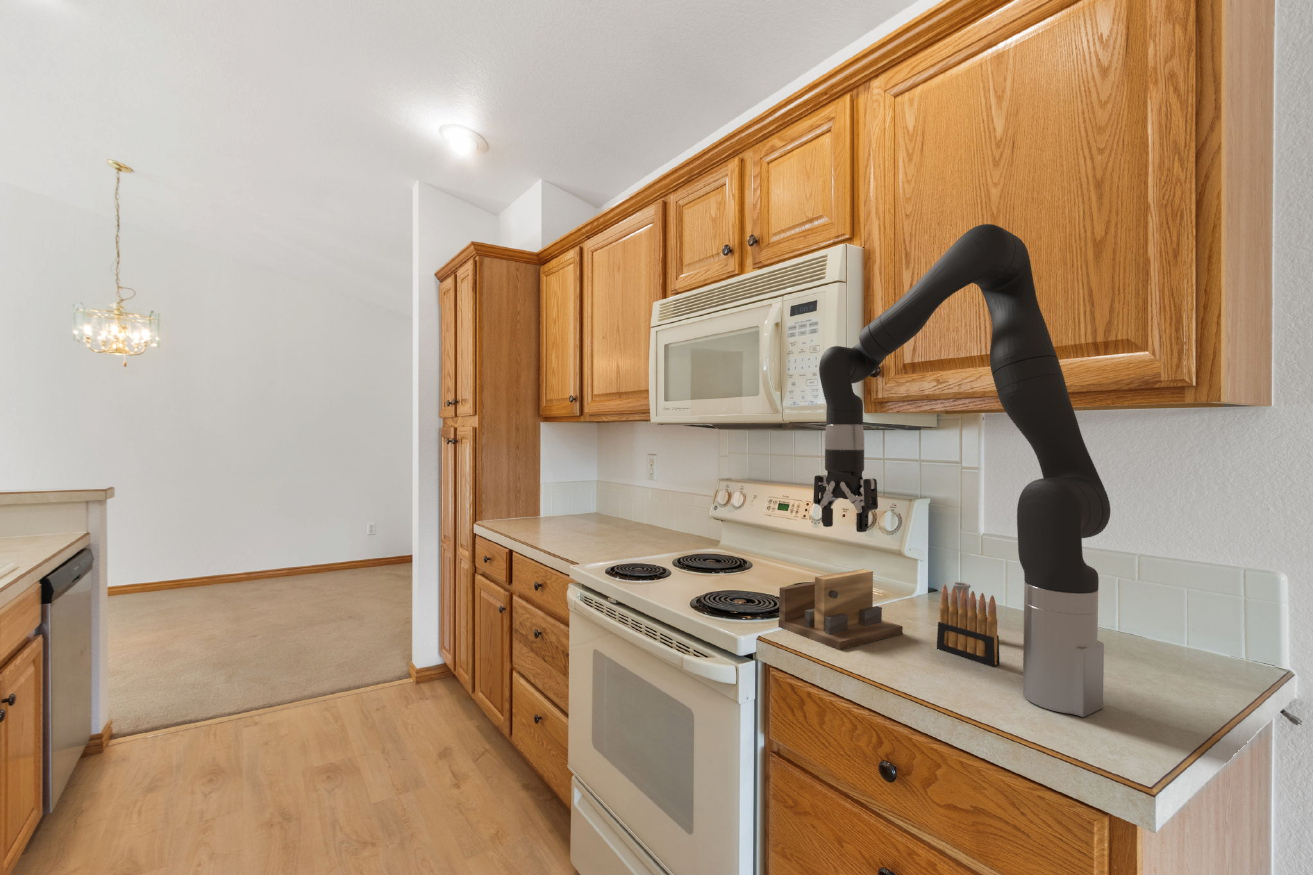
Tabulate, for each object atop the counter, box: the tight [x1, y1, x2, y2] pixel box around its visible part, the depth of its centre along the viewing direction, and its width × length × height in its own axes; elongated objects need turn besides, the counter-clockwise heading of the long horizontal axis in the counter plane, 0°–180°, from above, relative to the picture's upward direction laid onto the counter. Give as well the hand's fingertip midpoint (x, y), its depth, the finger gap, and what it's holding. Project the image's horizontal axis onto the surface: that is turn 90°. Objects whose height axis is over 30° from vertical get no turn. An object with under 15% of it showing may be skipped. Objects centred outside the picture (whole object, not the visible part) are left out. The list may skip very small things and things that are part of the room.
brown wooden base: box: [777, 581, 904, 651], centre depth 126 cm, size 16×18×8 cm
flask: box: [952, 581, 972, 611], centre depth 124 cm, size 7×7×10 cm
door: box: [814, 568, 874, 631], centre depth 124 cm, size 3×14×10 cm, turn 122°
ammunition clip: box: [936, 584, 1001, 668], centre depth 111 cm, size 11×2×12 cm, turn 33°
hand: (844, 529), depth 124 cm, fingers open, 8 cm apart
